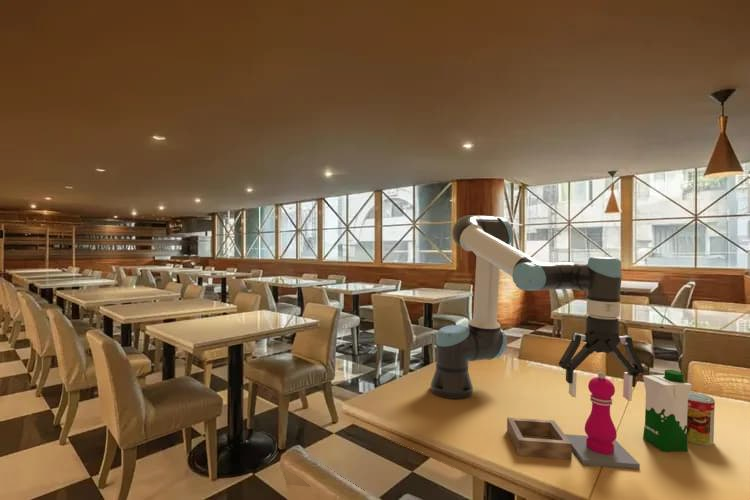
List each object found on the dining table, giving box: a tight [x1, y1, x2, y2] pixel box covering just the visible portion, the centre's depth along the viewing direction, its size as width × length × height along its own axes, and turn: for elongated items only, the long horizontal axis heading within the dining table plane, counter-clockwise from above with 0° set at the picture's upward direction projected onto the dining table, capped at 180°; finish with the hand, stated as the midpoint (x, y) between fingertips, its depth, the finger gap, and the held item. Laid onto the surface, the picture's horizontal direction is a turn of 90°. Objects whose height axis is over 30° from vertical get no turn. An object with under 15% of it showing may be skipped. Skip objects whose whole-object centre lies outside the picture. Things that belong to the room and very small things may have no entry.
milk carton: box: [642, 369, 693, 453], centre depth 106 cm, size 9×9×20 cm
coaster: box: [564, 433, 641, 470], centre depth 101 cm, size 13×13×1 cm
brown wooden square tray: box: [506, 416, 573, 460], centre depth 105 cm, size 13×13×4 cm
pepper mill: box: [584, 371, 618, 454], centre depth 101 cm, size 7×7×20 cm
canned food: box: [687, 391, 716, 447], centre depth 109 cm, size 8×8×12 cm
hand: (599, 397), depth 101 cm, fingers open, 13 cm apart
